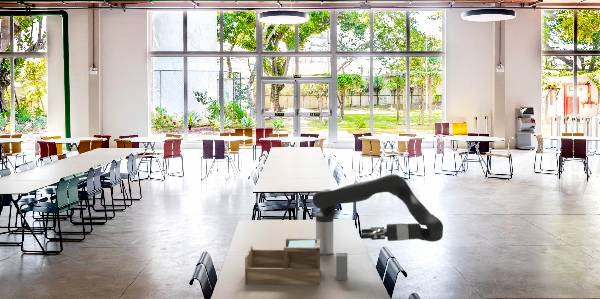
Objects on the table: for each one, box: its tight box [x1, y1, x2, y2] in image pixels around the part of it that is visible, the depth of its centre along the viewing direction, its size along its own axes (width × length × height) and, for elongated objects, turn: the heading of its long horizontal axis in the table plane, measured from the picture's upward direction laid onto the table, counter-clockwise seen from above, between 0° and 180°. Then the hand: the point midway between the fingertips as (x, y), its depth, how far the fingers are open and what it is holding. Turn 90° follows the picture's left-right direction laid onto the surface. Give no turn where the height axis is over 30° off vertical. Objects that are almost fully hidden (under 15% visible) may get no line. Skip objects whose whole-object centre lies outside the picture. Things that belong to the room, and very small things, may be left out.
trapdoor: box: [288, 240, 316, 247], centre depth 275 cm, size 12×12×1 cm
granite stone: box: [335, 252, 348, 281], centre depth 275 cm, size 5×5×11 cm
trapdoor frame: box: [244, 238, 321, 286], centre depth 276 cm, size 20×33×16 cm, turn 87°
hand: (361, 234), depth 272 cm, fingers open, 8 cm apart
